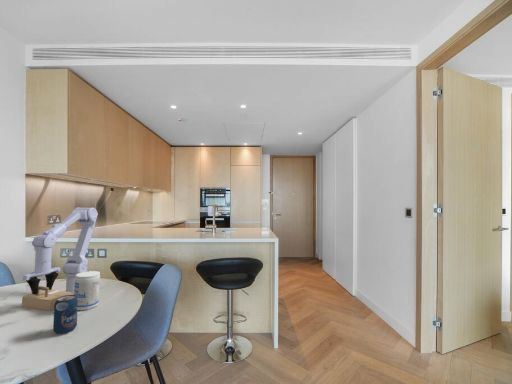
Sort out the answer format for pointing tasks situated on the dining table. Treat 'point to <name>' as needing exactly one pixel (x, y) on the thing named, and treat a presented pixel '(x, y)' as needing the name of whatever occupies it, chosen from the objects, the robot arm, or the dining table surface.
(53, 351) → the dining table surface
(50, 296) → the far flap
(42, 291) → the carton
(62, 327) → the soda can
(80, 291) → the supplement tub
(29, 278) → the robot arm
